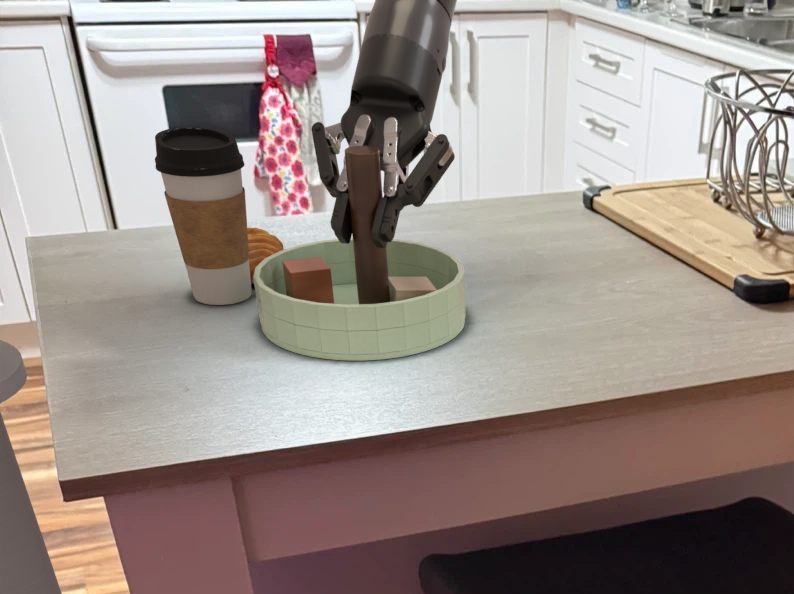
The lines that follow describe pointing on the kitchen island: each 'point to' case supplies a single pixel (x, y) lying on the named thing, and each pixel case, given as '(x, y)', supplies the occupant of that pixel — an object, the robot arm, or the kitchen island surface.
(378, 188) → the brown tall cylinder
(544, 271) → the kitchen island surface
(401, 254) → the bowl
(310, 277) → the block terracotta
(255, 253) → the pastry
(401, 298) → the block cream
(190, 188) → the coffee cup
